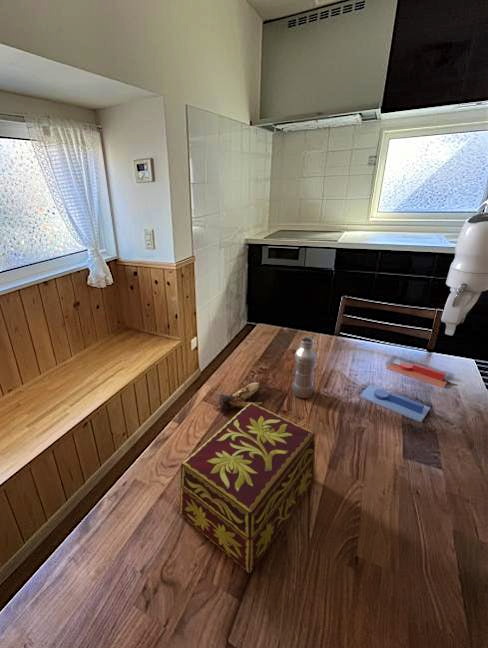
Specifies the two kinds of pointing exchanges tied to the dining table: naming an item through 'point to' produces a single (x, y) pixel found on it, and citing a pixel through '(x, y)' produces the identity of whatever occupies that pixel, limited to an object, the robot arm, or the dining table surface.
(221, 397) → the worn brush
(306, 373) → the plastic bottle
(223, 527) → the decorative box
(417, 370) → the red spoon
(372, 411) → the dining table surface
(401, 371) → the terracotta mat
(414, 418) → the blue mat
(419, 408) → the blue spoon
